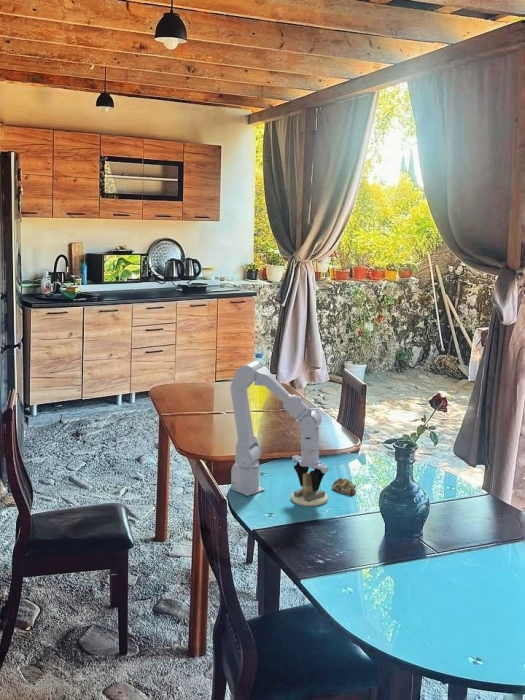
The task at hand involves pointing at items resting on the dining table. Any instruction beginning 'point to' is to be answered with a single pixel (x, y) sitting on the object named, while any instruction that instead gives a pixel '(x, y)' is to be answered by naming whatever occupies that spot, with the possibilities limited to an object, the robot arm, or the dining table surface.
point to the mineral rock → (344, 486)
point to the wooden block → (307, 484)
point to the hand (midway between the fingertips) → (309, 488)
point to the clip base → (313, 503)
